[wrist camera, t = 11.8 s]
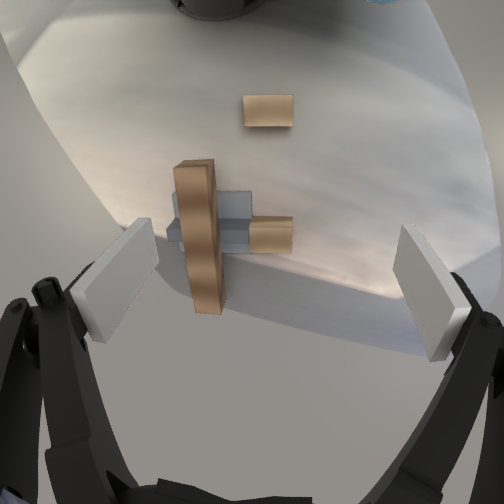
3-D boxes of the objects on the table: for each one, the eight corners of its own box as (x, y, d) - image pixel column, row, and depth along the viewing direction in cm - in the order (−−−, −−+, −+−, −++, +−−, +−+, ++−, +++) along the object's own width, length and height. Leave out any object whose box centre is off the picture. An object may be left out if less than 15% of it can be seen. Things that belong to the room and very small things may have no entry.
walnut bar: (184, 160, 38) (173, 168, 34) (213, 159, 37) (205, 166, 34) (201, 296, 49) (195, 312, 45) (226, 298, 48) (220, 314, 45)
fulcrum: (174, 192, 45) (161, 203, 41) (251, 191, 44) (246, 203, 40) (182, 248, 50) (172, 264, 46) (253, 250, 49) (249, 267, 45)
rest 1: (247, 95, 37) (243, 95, 34) (292, 94, 36) (292, 95, 33) (248, 123, 39) (244, 126, 36) (292, 123, 38) (293, 126, 35)
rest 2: (252, 216, 46) (248, 227, 43) (292, 216, 45) (292, 228, 42) (253, 239, 48) (250, 252, 45) (291, 240, 47) (291, 253, 44)
